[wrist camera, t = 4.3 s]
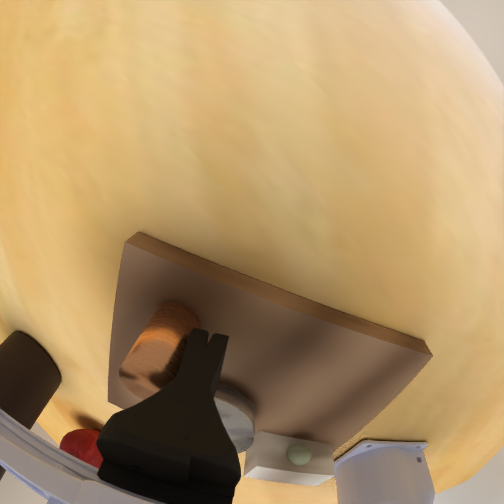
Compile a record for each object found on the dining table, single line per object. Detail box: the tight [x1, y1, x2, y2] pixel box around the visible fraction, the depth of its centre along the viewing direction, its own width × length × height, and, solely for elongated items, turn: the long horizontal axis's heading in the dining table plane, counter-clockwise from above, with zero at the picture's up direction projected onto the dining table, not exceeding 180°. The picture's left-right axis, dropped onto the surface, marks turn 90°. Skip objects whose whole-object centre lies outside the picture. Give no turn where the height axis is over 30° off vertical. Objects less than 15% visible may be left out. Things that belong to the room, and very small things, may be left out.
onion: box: [60, 429, 103, 469], centre depth 19 cm, size 6×6×8 cm
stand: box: [108, 232, 433, 486], centre depth 15 cm, size 18×14×4 cm
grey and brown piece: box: [119, 302, 256, 453], centre depth 13 cm, size 11×6×4 cm, turn 8°
